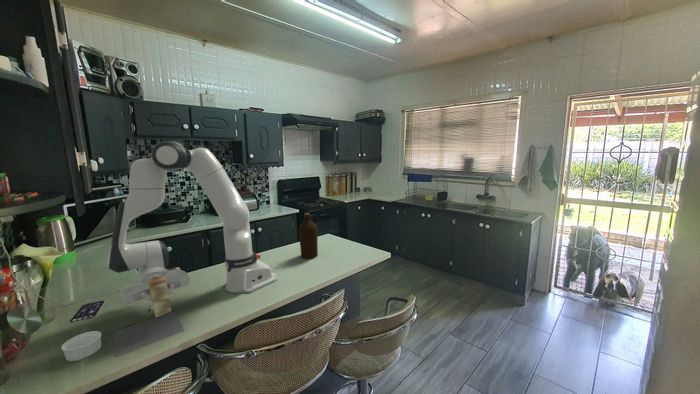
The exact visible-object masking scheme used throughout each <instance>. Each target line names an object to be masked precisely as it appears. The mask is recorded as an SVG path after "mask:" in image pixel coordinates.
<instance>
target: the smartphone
mask: <svg viewBox="0 0 700 394" xmlns="http://www.w3.org/2000/svg"><path fill="white" fill-rule="evenodd" d="M106 302H107V300H106V299H102V300H98V301H93V302H88V303H84V304H81V306H80V307H79V309H78V310H77V311H76V312H75V313H74V314H73V316H72V317H71V318H70V319H69V321H68V324H73V323H79V322H81V321H83V322H84V321H87V320H91V319H94V318H96V316H97V315H98V314H99V312H100V311H101V309H102V307H103V306H104V305H105V303H106Z"/></svg>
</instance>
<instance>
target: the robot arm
mask: <svg viewBox="0 0 700 394" xmlns="http://www.w3.org/2000/svg"><path fill="white" fill-rule="evenodd" d="M151 149H152V150H151V157H149V158H139V159H136V160H134V161H133V162H132V163H131V166H130V171H129V179H128V181H129V182H128V186H129V191H128V195H127V197H126V199H125V200H124V201H122V202H120V203H119V205H118V208H117V210H116V216H115V218H114V219H115V220H114V225H113V229H112V230H113V231H112V237H111V245H110V247H109V251H108V252H107V257H106V263H107V264H106V265H107V267H108V269H109V270H111V271H112V272H116V273H117V274H121V273H124V272H129V271H132V270H137V274H136V275H137V281H138V283H136V284H133V285H130V286H126V287H124V288H122V289H121V291H119V292H118V296H119V297H120V301H121V304H122V305H124V306H125V305H129V304H133V303H136V302H140V301H142V300H146V301H147V302H148V301H152V295H151V293H150V288H149V282H148V279H151V278H155V277H158V276H162V275H164V276H165V278H166V283H167V288H168V294H169V295H170V294H173V292H174V290H178V289H180V288H184V287H186V286H189V285H190V284H191V281H190V275H189V274H188V273H187V272H186V271H185V270H182V269H181V268H180V267H179V266H178V267H176V266H175V267H169V268H166V267H167V266H168V265H169V262H170V255H169V254H170V253H169V250H168V247H167V245H166V244H165V243H164V242H163V241H161V240H159V239H158V240H151V241H144V242H136V243H126V239H127V233H128V228H129V224H130V222H131V221H133V220H134V219H136V218H137V217H139V216H142V215H145V214H148V213H150V212H152V211H154V210H156V209H158V208H159V207H160V206H161V205H162V204H163V203H164V202H165V195H166V185H165V179H166V175H167V173H168V172H171V171H177V170H181V169H187V170H189V171H190V173H192V175H193V176H194V178H195V179H196V181H197V183H198V184H199V185H200V187H201V189H202V191H204V193H205V194H206V196H207V197H208V200H209V201H210V203H211V205H212V207H213V209H214V210H215V212H216V213H217V215H218V216H219V218H220V220H221V221H222V227H223V228H222V229H223V240H224V241H223V242H224V251H225V257H224V261H225V262H224V264H225V270H226V282H225V286H224V287H225V288H224V289H225V291H226V292H228V293H233V294H235V293H252V292H255V291H257V290H259V289H261V288H263V287H265V286H267V285H270V284H272V283H274V282H275V281H276V282H277V280H278V275H277V274H276V273H274V272H273V271H272V269H271V267H270V265H268V264H267V263H265V262H263V261H261V260H260V259H261V258H262V255H261V254H259V253H256V252H254V251H253V244H252V233H251V227H250V215H251V214H250V211H249V208H248V205H247V203H246V202H245V201H244V200H243V198H242V196H241V195H240V194H239V192H238V190H237V188H236V187H235V185H234V184H233V182H232V181H231V179H230V177H229V175H228V173H226V171H225V169H224V167H223V166H222V165H221V163H220V162H219V160H218V159H217V158H216V156H215V155H214V154H213V153H212V152H211V151H210V150H209V149H208V148H207V147H206V148H205V147H196V148H193V149H188V148H186V147H184V146H183V144H181V143H179V142H176V141H173V140H172V141H171V140H163V141H160V142H157V143H156V144H155V145H154V147H152V148H151Z"/></svg>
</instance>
